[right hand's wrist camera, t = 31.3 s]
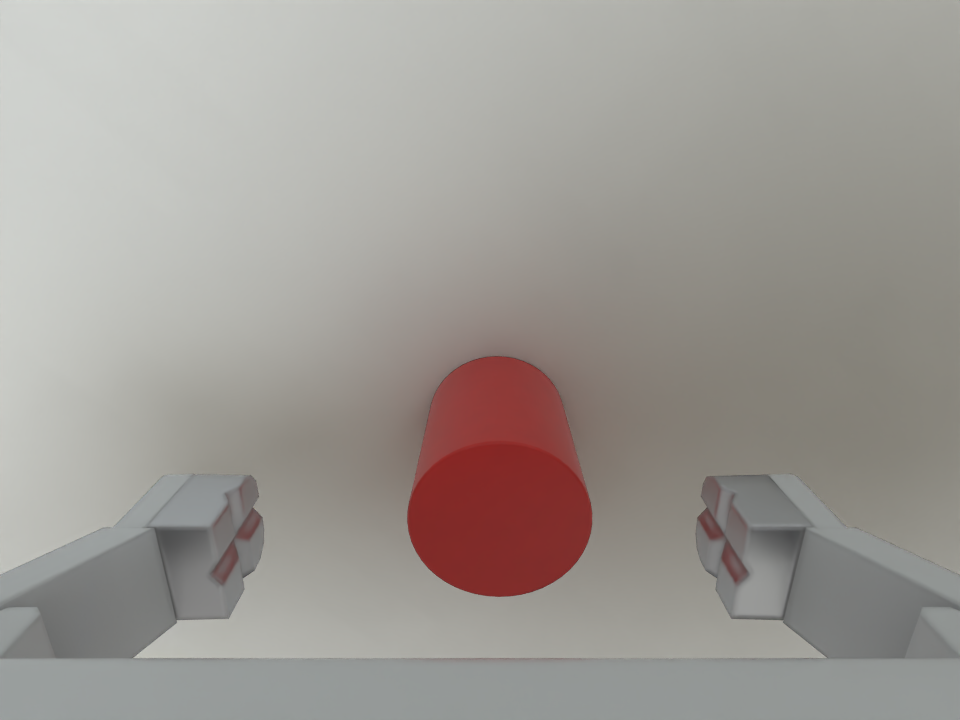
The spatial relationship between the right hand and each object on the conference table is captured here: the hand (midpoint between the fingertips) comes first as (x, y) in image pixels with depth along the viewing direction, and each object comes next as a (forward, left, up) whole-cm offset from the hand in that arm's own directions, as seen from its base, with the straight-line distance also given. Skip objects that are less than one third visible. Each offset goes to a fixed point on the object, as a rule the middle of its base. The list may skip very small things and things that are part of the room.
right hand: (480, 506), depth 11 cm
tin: (-1, 0, -5) cm, 5 cm away
